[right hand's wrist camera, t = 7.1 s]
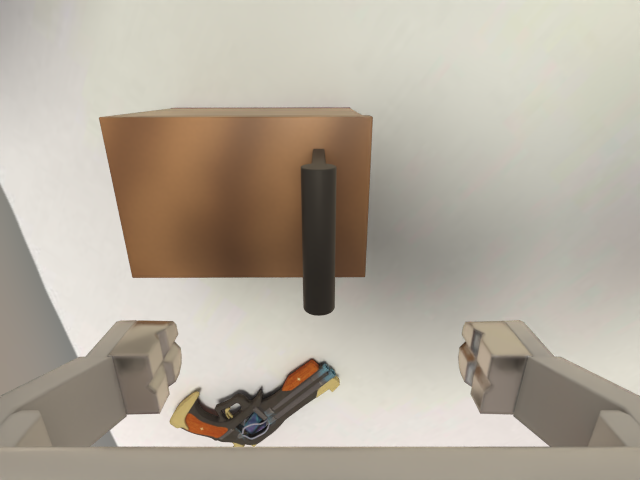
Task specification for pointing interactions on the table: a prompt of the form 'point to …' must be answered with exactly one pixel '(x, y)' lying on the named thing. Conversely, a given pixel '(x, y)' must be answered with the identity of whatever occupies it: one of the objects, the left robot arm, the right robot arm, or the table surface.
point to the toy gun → (256, 408)
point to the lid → (244, 197)
